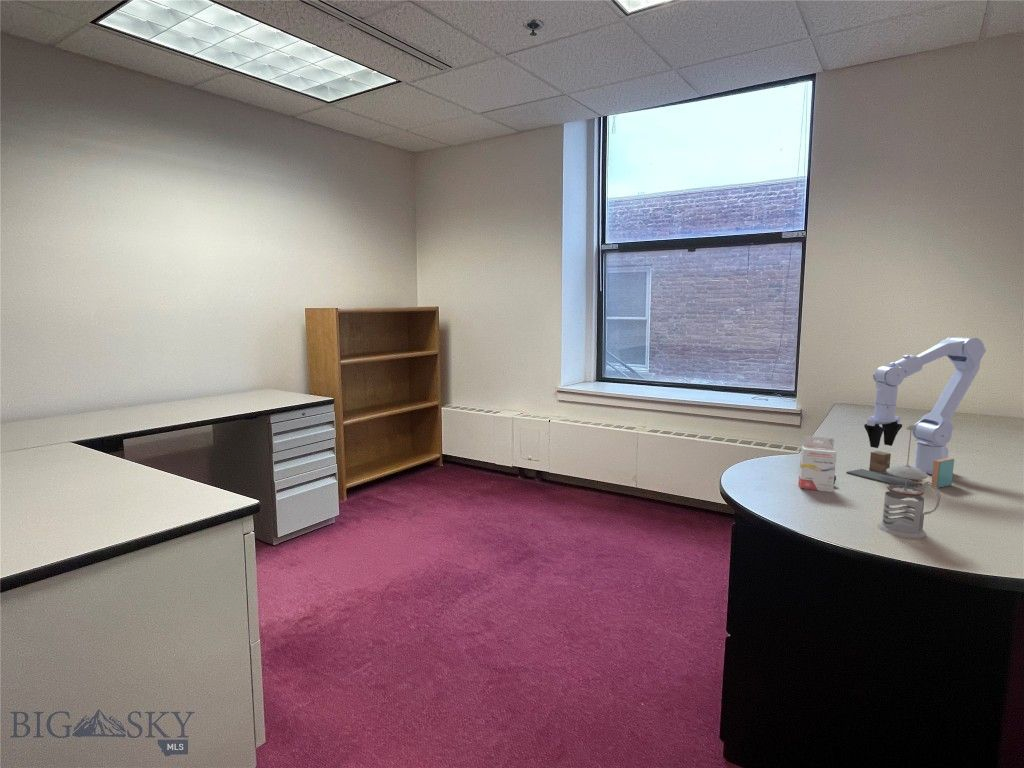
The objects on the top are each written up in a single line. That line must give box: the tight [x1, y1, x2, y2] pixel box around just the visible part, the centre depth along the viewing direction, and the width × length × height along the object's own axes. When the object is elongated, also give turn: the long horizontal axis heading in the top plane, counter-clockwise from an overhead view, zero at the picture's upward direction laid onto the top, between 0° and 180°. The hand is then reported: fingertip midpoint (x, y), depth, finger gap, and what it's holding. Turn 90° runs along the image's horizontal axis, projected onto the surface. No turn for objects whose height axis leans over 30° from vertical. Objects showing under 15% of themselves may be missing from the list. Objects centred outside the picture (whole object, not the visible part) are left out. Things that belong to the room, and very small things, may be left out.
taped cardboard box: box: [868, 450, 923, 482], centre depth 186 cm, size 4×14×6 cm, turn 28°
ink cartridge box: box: [797, 435, 837, 493], centre depth 170 cm, size 9×5×15 cm, turn 71°
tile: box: [930, 457, 955, 489], centre depth 174 cm, size 8×2×8 cm, turn 119°
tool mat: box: [845, 468, 923, 488], centre depth 181 cm, size 8×18×1 cm, turn 28°
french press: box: [876, 424, 942, 539], centre depth 136 cm, size 10×12×25 cm
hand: (881, 446), depth 190 cm, fingers open, 7 cm apart
